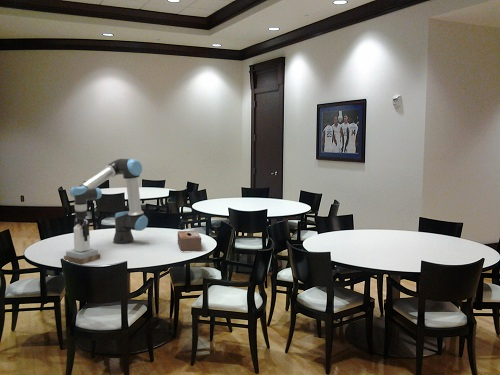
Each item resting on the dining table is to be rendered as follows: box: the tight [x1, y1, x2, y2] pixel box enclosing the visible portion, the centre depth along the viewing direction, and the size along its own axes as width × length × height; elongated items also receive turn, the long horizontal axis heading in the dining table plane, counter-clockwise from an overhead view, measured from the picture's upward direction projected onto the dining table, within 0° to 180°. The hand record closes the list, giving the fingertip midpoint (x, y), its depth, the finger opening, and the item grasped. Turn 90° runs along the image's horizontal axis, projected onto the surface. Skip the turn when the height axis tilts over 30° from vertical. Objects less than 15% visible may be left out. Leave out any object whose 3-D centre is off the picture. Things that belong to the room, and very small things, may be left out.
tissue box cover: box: [177, 229, 202, 252], centre depth 339 cm, size 26×14×10 cm, turn 14°
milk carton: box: [73, 224, 91, 252], centre depth 301 cm, size 7×7×19 cm
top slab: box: [65, 248, 99, 259], centre depth 302 cm, size 14×14×3 cm
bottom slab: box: [63, 253, 101, 265], centre depth 303 cm, size 16×16×3 cm
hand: (82, 244), depth 302 cm, fingers closed on milk carton, 7 cm apart
